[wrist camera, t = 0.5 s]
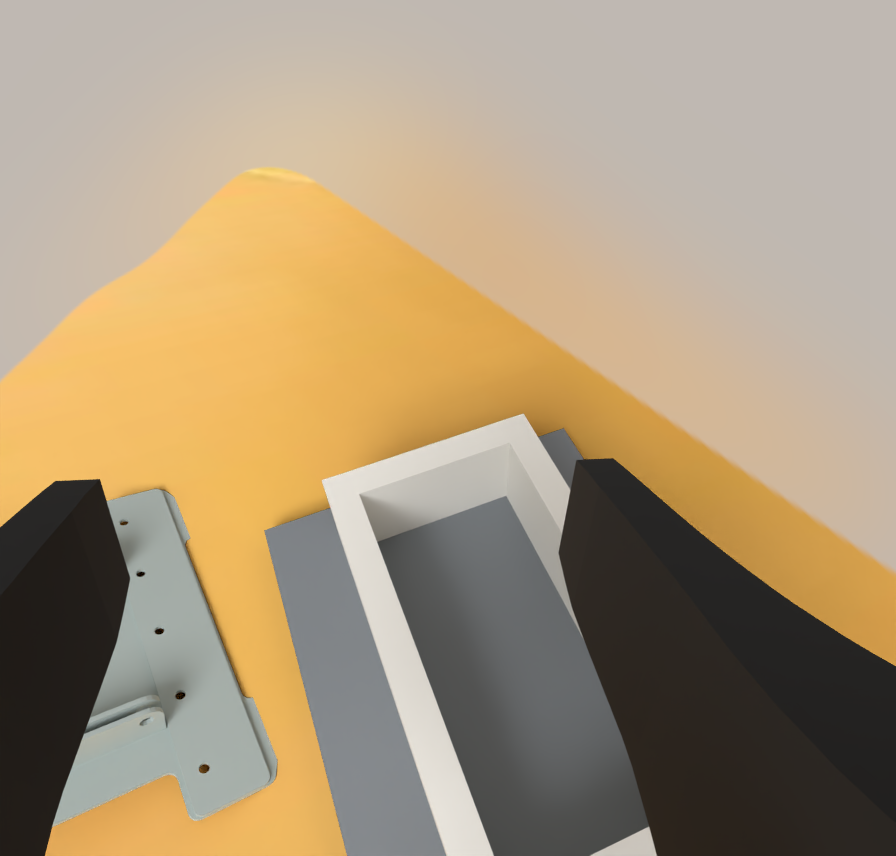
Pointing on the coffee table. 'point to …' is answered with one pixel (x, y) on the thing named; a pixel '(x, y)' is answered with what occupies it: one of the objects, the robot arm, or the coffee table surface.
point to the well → (456, 656)
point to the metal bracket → (167, 684)
